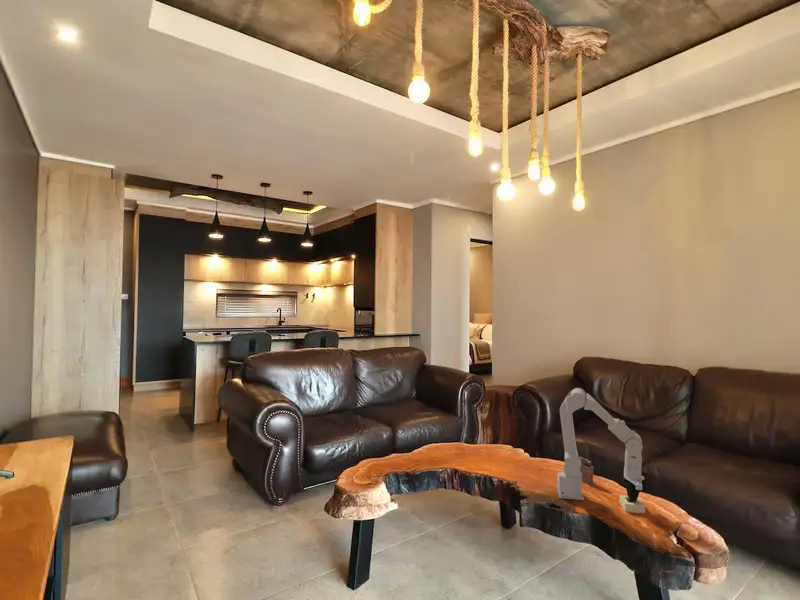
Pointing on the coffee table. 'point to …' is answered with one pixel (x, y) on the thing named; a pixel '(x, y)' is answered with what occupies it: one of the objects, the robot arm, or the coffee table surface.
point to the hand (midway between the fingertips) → (632, 499)
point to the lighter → (586, 471)
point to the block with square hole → (632, 505)
